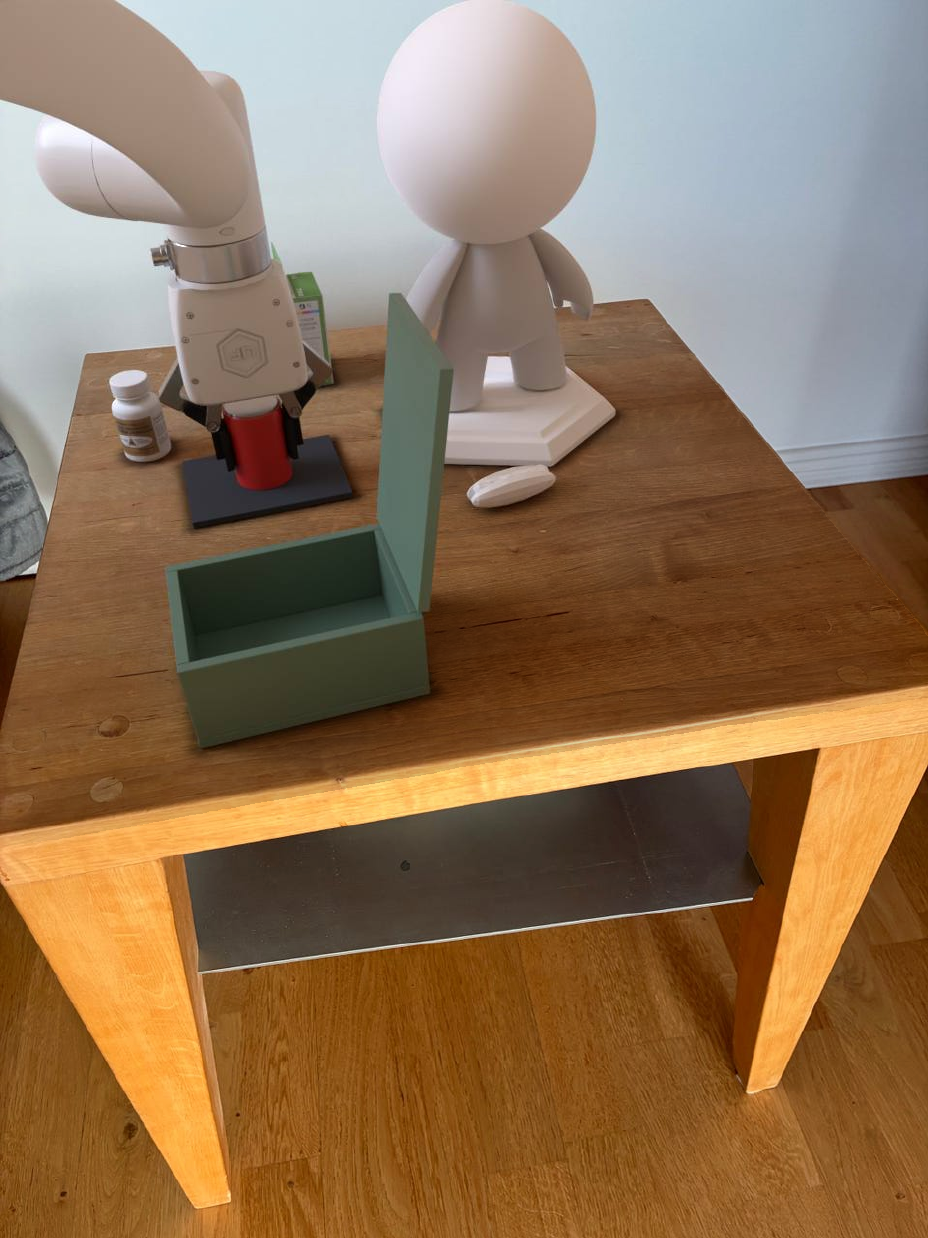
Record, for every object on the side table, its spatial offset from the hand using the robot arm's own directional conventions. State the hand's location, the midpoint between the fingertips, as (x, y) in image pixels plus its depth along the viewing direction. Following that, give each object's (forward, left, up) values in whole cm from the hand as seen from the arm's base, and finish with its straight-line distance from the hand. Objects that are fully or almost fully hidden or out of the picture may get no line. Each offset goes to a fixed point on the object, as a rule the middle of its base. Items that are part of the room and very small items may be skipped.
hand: (261, 456), depth 87 cm
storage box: (-1, -26, -3) cm, 26 cm away
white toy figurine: (+24, +4, -3) cm, 25 cm away
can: (0, 0, -2) cm, 2 cm away
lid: (+8, -26, +13) cm, 30 cm away
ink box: (+8, +20, -3) cm, 22 cm away
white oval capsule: (+20, -11, -3) cm, 23 cm away
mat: (0, 0, -3) cm, 3 cm away
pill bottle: (-10, +9, -3) cm, 14 cm away
